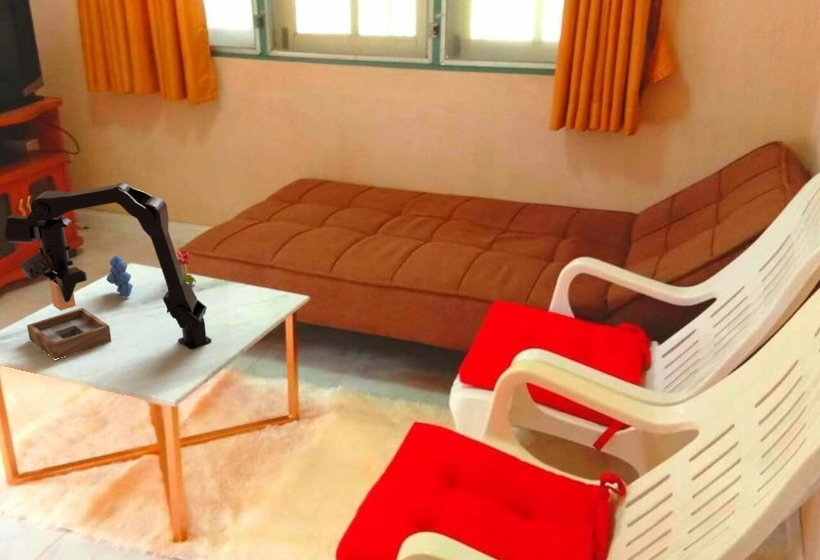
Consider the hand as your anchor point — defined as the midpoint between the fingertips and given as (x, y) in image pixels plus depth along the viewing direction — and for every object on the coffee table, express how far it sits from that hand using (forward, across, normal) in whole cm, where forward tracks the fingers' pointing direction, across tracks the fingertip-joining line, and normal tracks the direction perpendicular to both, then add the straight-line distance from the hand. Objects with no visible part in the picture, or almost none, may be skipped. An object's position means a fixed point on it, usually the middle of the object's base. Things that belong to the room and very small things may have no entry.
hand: (63, 298), depth 199 cm
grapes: (+12, -17, +23) cm, 31 cm away
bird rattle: (+13, -12, +41) cm, 44 cm away
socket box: (+12, 0, 0) cm, 12 cm away
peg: (+2, 0, 0) cm, 2 cm away
